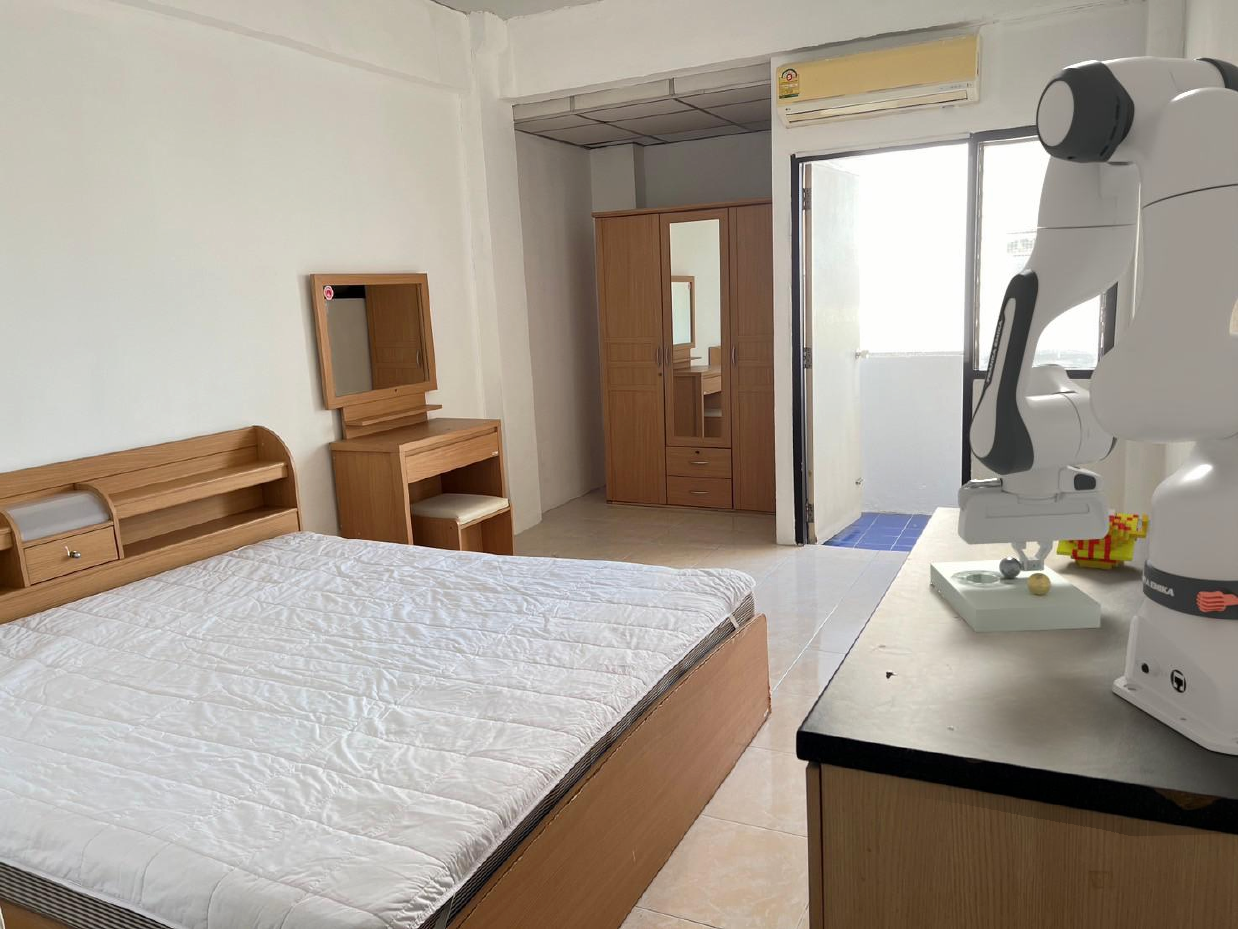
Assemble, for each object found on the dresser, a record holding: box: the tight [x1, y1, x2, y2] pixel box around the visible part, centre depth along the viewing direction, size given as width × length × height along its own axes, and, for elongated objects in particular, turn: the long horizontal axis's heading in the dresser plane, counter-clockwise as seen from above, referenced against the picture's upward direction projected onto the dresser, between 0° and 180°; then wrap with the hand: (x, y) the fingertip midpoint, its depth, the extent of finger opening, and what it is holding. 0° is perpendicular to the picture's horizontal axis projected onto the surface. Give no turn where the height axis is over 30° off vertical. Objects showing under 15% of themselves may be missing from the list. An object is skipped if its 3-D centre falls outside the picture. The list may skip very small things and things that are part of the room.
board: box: [929, 558, 1102, 634], centre depth 131 cm, size 22×16×3 cm
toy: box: [1056, 508, 1150, 570], centre depth 144 cm, size 14×10×15 cm
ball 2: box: [1027, 573, 1051, 595], centre depth 124 cm, size 3×3×3 cm
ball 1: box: [999, 556, 1021, 578], centre depth 132 cm, size 3×3×3 cm
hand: (1031, 570), depth 132 cm, fingers closed
